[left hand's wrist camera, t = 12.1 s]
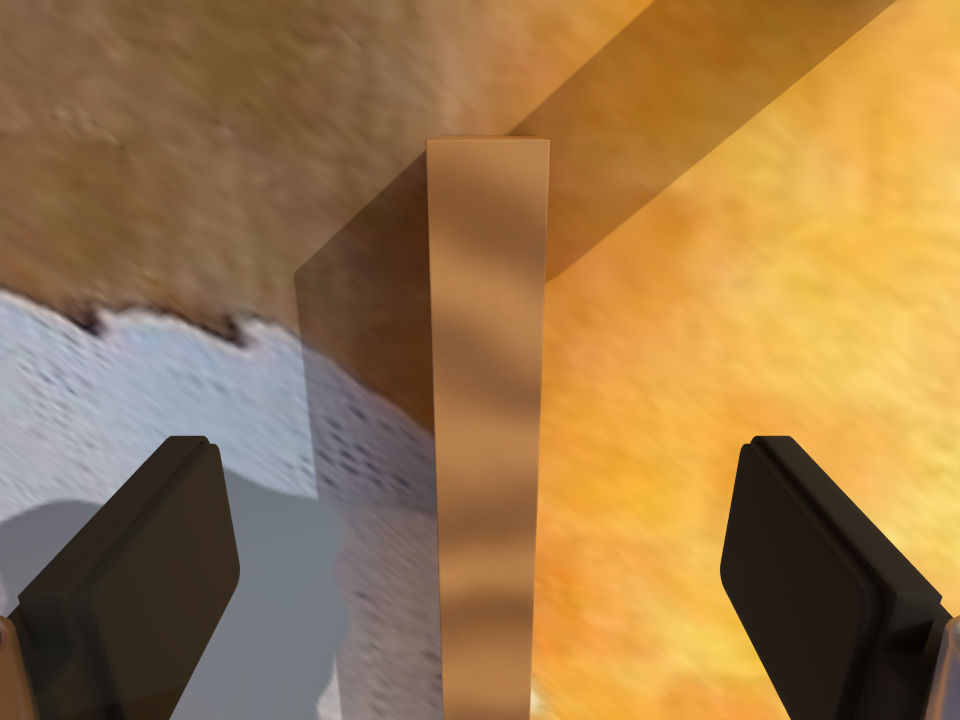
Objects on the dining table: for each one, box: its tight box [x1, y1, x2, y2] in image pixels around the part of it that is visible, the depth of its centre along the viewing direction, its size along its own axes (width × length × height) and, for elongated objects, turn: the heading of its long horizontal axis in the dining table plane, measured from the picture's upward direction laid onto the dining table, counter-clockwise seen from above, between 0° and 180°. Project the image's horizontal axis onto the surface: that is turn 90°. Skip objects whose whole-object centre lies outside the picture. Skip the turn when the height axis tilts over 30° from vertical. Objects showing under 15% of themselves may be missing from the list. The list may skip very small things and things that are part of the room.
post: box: [426, 136, 550, 720], centre depth 39 cm, size 63×5×8 cm, turn 0°
